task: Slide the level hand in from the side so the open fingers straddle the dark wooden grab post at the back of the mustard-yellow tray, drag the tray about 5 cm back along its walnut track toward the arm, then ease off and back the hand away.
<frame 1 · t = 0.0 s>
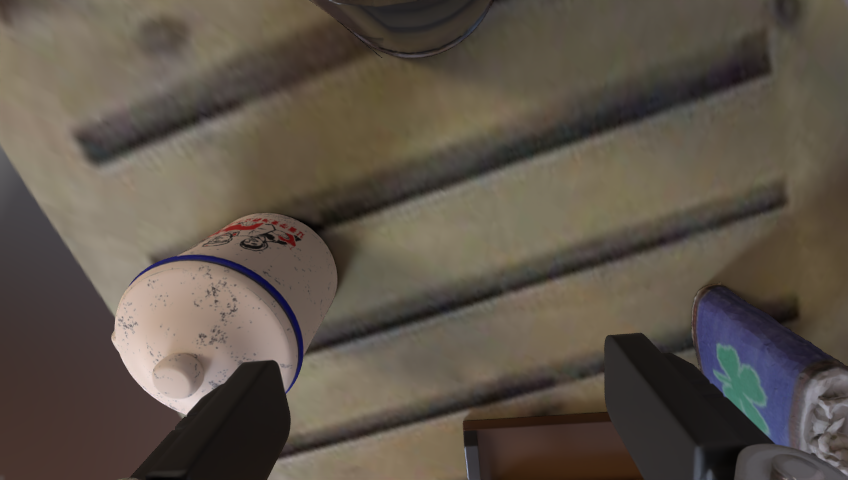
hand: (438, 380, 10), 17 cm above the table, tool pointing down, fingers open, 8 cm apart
teacup with lid: (258, 274, 29), on the table
flask: (713, 339, 29), on the table
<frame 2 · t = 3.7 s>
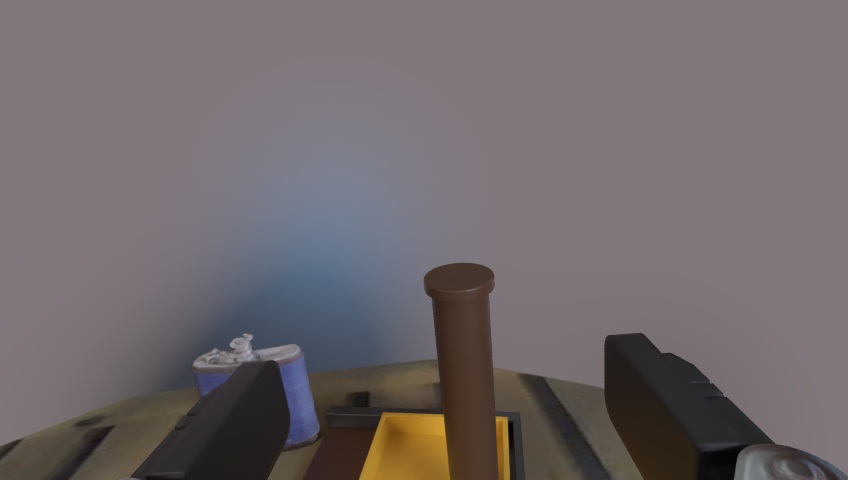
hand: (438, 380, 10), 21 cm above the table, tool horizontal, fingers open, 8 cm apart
flask: (268, 444, 37), on the table
tray: (416, 423, 23), point 10 cm above the table, slide at 0.0 cm
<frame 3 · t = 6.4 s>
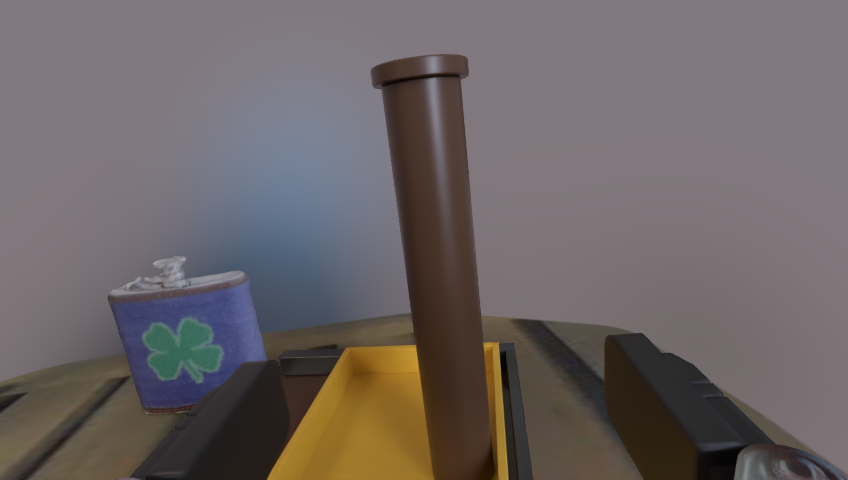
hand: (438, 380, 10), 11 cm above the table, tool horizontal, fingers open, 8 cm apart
flask: (209, 400, 30), on the table
tray: (373, 304, 17), point 10 cm above the table, slide at 0.0 cm
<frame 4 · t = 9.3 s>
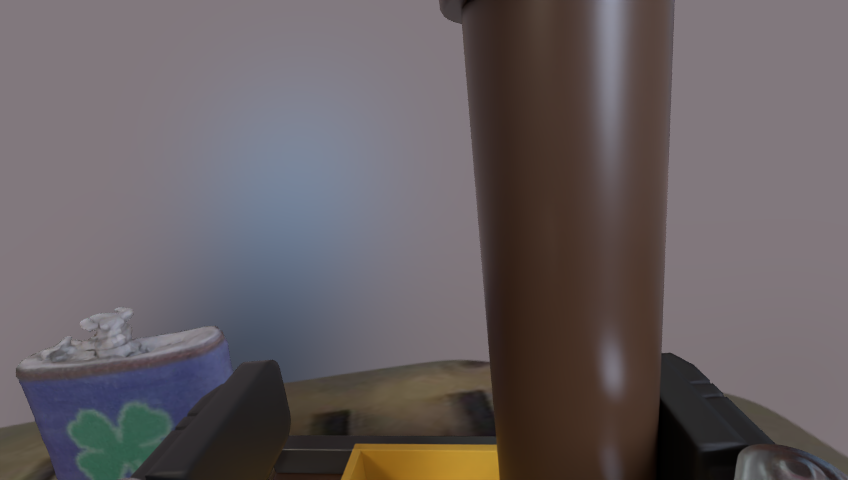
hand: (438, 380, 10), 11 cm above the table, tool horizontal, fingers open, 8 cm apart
tray: (420, 473, 8), point 10 cm above the table, slide at 0.6 cm, touching gripper
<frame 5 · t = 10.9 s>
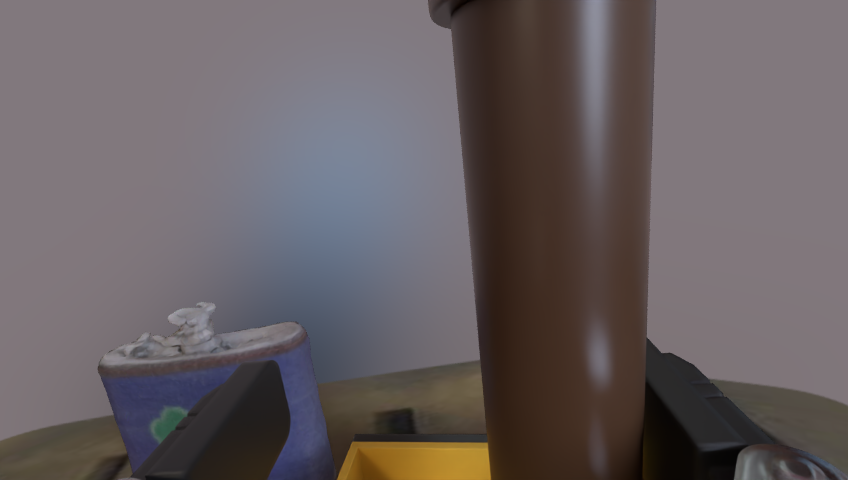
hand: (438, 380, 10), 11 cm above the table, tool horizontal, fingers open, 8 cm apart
tray: (412, 469, 9), point 10 cm above the table, slide at 4.9 cm
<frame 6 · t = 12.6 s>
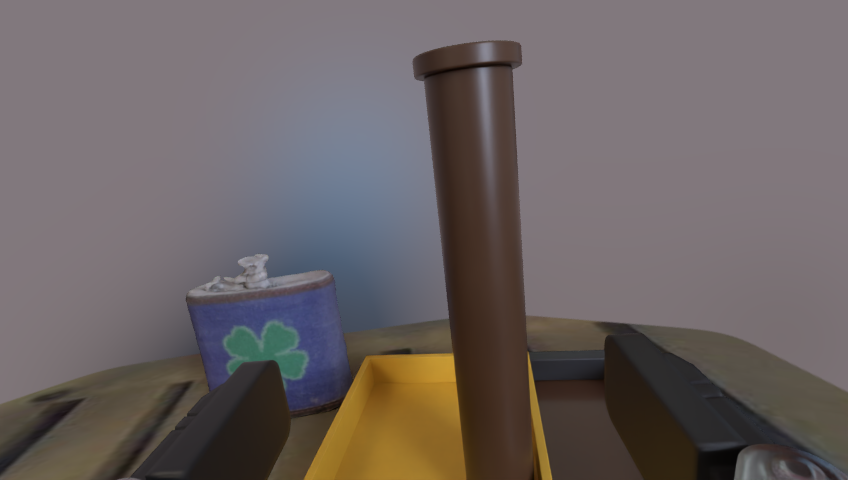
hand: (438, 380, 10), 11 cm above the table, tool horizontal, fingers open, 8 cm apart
flask: (286, 409, 28), on the table
tray: (407, 315, 16), point 10 cm above the table, slide at 4.9 cm
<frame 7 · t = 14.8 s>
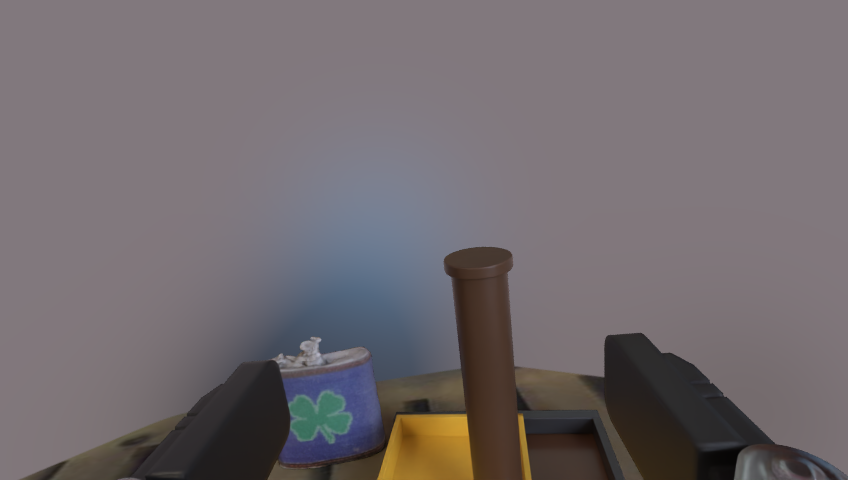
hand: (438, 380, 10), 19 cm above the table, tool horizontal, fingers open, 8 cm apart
flask: (332, 454, 35), on the table
tray: (437, 411, 23), point 10 cm above the table, slide at 4.9 cm
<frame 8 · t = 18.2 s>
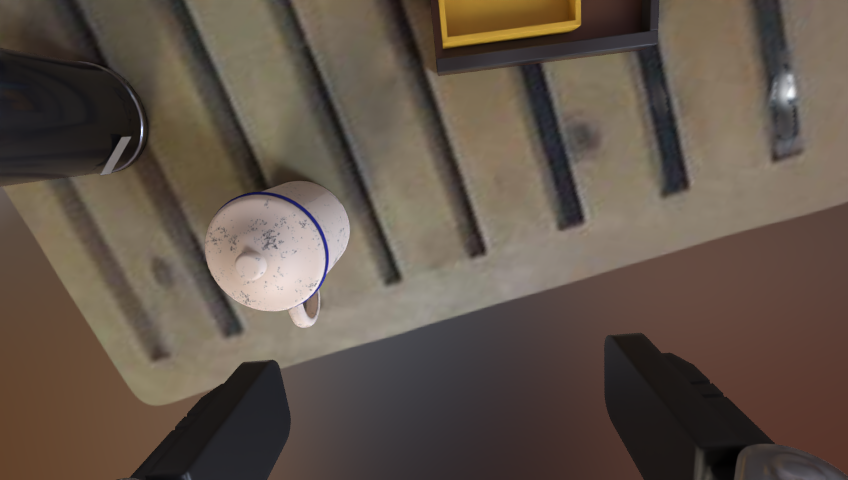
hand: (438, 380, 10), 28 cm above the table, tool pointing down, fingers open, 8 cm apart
teacup with lid: (310, 240, 39), on the table
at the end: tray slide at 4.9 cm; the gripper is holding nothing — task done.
